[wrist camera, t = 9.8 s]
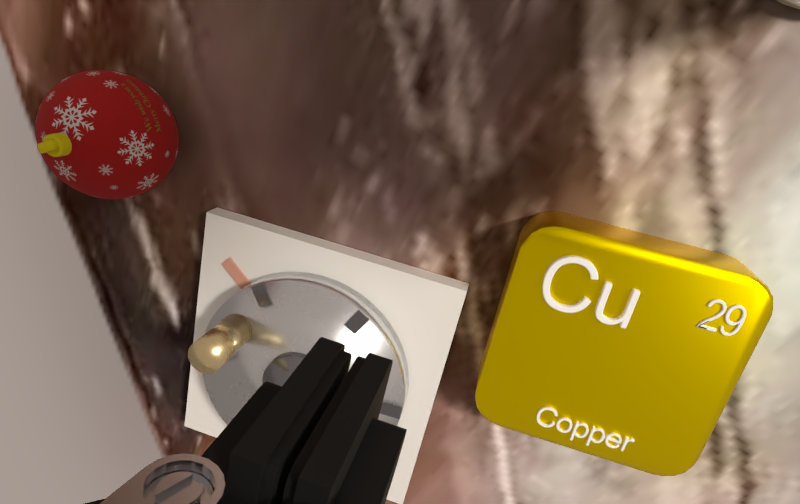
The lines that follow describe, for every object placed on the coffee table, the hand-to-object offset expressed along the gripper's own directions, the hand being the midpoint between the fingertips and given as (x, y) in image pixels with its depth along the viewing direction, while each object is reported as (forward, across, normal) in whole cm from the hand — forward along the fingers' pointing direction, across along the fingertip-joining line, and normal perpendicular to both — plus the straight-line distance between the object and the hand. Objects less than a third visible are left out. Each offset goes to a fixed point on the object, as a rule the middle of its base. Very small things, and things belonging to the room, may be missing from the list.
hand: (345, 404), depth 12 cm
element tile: (+28, -12, +8) cm, 31 cm away
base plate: (+27, +8, +18) cm, 33 cm away
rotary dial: (+25, +8, +18) cm, 32 cm away
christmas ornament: (+27, +24, +3) cm, 36 cm away
